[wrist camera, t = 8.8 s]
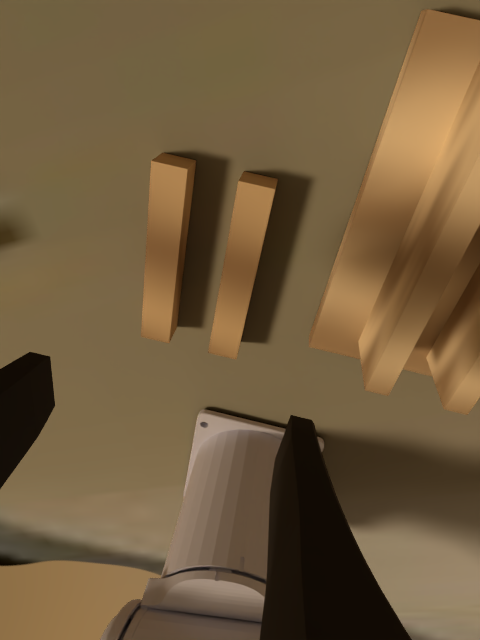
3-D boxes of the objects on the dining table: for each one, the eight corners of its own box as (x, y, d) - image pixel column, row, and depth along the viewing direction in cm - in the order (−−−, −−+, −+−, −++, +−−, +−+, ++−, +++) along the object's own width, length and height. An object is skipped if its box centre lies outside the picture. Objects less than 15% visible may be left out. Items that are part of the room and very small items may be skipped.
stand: (240, 342, 23) (236, 359, 22) (150, 320, 23) (141, 336, 22) (278, 179, 18) (275, 189, 17) (162, 152, 18) (151, 160, 17)
